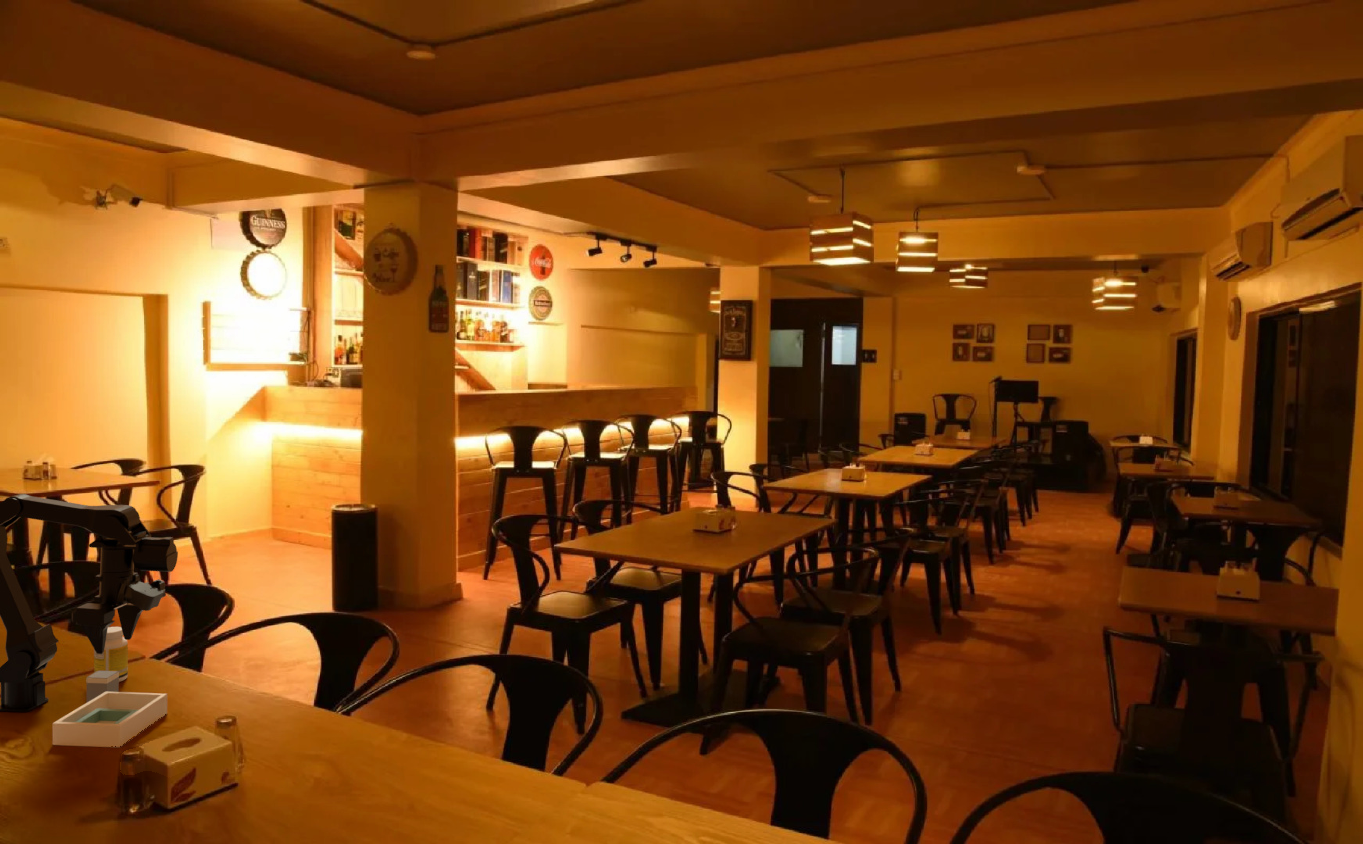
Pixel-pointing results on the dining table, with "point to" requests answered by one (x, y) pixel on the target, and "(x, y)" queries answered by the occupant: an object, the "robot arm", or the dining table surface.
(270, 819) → the dining table surface
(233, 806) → the dining table surface
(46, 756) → the dining table surface
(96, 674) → the square block
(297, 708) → the dining table surface
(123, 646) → the pill bottle
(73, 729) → the walled box
